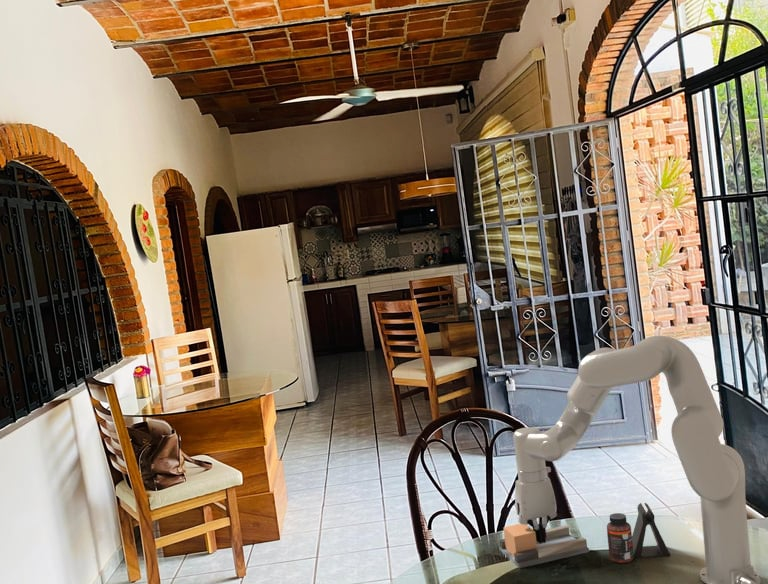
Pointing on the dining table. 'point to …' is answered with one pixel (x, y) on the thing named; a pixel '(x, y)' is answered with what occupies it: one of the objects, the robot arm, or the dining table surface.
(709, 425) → the robot arm
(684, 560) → the dining table surface
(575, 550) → the chute
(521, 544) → the block
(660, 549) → the dark a-frame stand
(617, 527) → the supplement bottle
